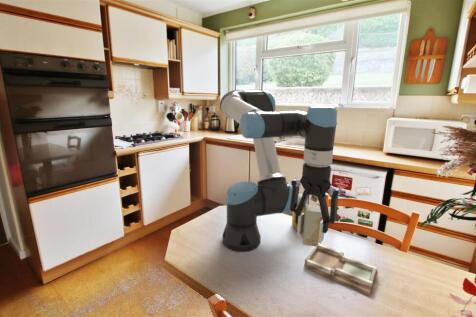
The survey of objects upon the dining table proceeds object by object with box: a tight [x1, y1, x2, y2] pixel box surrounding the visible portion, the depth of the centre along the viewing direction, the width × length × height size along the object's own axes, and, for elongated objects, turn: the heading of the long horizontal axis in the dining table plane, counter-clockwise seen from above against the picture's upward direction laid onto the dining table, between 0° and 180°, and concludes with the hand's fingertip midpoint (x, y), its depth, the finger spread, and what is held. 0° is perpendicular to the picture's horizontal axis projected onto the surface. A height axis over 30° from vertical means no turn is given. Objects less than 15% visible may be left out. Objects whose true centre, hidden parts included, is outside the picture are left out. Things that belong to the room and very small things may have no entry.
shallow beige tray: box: [303, 243, 378, 296], centre depth 83 cm, size 20×13×2 cm, turn 54°
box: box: [301, 203, 322, 247], centre depth 73 cm, size 5×4×11 cm
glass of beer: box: [291, 192, 309, 230], centre depth 107 cm, size 6×6×15 cm
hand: (310, 237), depth 74 cm, fingers closed on box, 6 cm apart
